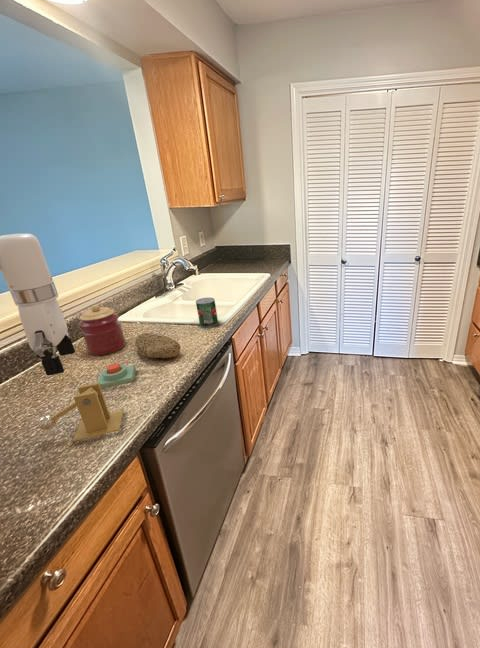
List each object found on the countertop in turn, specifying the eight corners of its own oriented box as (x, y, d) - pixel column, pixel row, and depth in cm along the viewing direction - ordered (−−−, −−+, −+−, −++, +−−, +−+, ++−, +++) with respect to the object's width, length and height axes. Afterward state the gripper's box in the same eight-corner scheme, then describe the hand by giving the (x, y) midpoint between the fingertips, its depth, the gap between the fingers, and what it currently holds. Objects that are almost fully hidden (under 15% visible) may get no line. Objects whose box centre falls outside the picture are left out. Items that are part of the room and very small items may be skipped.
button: (107, 375, 99) (105, 370, 98) (109, 369, 102) (107, 364, 102) (120, 372, 100) (118, 367, 100) (121, 367, 103) (120, 362, 103)
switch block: (97, 391, 98) (93, 380, 96) (102, 378, 105) (98, 367, 103) (133, 383, 101) (130, 372, 99) (136, 371, 108) (133, 360, 106)
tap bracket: (74, 444, 77) (57, 404, 73) (82, 423, 84) (67, 385, 80) (120, 432, 80) (107, 393, 76) (124, 413, 87) (112, 376, 83)
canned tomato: (196, 324, 142) (192, 300, 138) (212, 319, 147) (209, 296, 143) (205, 329, 137) (200, 304, 132) (221, 323, 142) (218, 300, 137)
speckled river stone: (134, 353, 122) (142, 364, 106) (132, 332, 121) (140, 340, 105) (170, 348, 129) (183, 358, 113) (169, 329, 128) (182, 336, 112)
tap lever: (44, 435, 76) (31, 426, 75) (49, 426, 79) (37, 417, 78) (98, 401, 78) (86, 391, 76) (100, 393, 81) (90, 383, 79)
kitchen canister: (101, 359, 117) (86, 313, 110) (81, 351, 123) (66, 308, 116) (133, 344, 127) (121, 301, 120) (114, 337, 133) (101, 297, 126)
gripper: (29, 286, 75) (54, 350, 82) (-6, 309, 60) (29, 386, 67) (66, 281, 78) (88, 344, 84) (42, 303, 63) (71, 378, 69)
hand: (62, 363), depth 76 cm, fingers open, 9 cm apart
